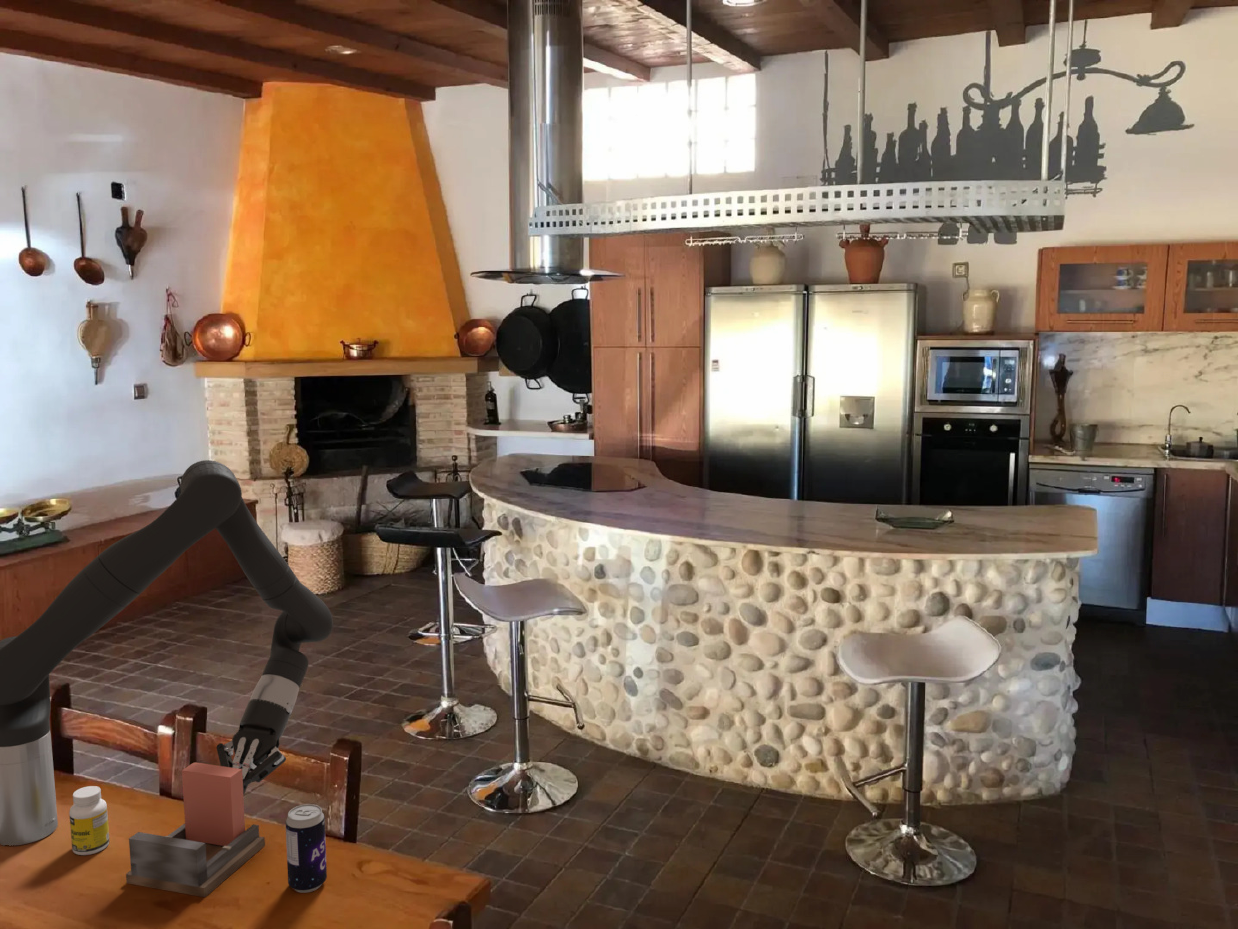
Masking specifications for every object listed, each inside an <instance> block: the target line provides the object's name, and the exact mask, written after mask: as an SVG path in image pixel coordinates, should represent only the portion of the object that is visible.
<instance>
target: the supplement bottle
mask: <svg viewBox="0 0 1238 929" xmlns="http://www.w3.org/2000/svg"><path fill="white" fill-rule="evenodd" d="M101 792H102V790H101V788H100V786H96V785H89V786H84V787H81V788H78V789H77V790H74V792H73V794H72V802H73V805H71V807H70V809H69V814H68V815H69V824H70V838H71V849H72V850H71V851H72V852H73V853H74V854H76V855H77V856H79V855H80V856H89V855H93V854H96V853H99V852H101V851H102V850H105V849H106V848H107V847H108V846H109V843H110V833H109V832H110V830H109V816H108V807H107V806H108V805H107V802H106V800H104V799H103V798H102V793H101Z"/></svg>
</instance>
